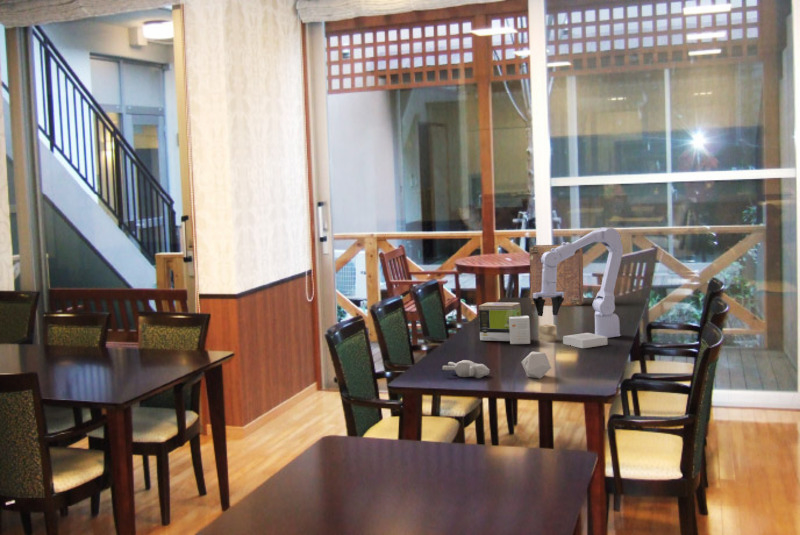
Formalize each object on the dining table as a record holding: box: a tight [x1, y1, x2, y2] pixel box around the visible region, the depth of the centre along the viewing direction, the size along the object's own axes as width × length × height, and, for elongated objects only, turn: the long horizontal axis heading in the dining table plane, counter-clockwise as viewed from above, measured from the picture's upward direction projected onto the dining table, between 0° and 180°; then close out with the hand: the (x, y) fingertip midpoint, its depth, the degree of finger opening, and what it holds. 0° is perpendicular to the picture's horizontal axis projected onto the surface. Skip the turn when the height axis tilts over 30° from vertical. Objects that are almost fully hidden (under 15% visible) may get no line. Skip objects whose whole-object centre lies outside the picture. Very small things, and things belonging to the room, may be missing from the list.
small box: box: [509, 315, 531, 345], centre depth 352 cm, size 8×6×10 cm
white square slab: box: [562, 332, 608, 349], centre depth 344 cm, size 12×12×3 cm
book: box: [528, 244, 584, 307], centre depth 449 cm, size 25×9×30 cm, turn 68°
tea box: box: [478, 302, 522, 342], centre depth 361 cm, size 15×10×15 cm
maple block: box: [538, 323, 558, 343], centre depth 356 cm, size 5×5×6 cm
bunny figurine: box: [441, 359, 490, 379], centre depth 299 cm, size 10×5×15 cm
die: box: [521, 351, 552, 379], centre depth 293 cm, size 8×9×10 cm
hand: (547, 315), depth 355 cm, fingers open, 7 cm apart
